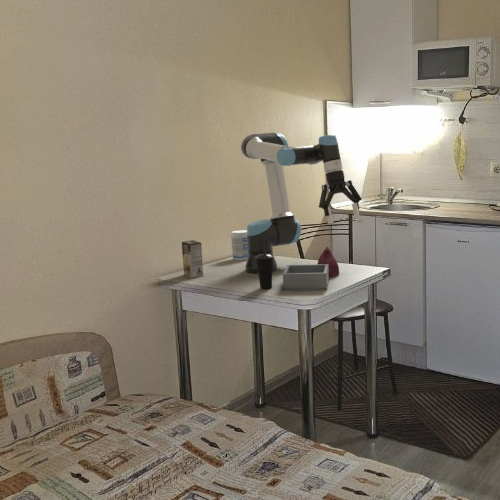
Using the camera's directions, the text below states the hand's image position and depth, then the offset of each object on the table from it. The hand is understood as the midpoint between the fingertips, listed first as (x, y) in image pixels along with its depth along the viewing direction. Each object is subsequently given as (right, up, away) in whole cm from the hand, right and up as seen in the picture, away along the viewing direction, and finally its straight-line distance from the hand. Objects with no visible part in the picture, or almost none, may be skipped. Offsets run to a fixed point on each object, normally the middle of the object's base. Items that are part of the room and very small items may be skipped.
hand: (344, 221), depth 293 cm
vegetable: (-5, -24, +21) cm, 32 cm away
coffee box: (-66, -24, +35) cm, 79 cm away
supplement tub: (-44, -17, +67) cm, 82 cm away
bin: (-15, -27, +3) cm, 31 cm away
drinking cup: (-33, -28, +2) cm, 44 cm away
